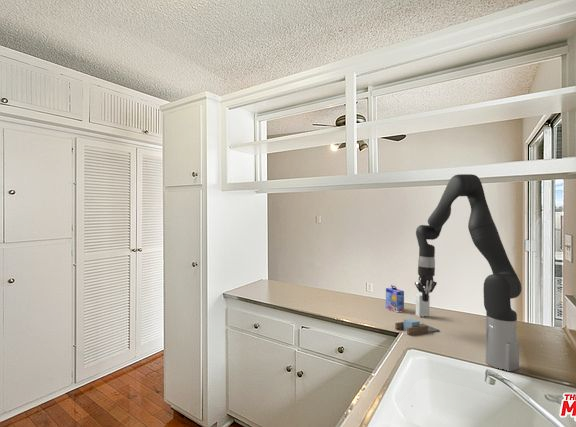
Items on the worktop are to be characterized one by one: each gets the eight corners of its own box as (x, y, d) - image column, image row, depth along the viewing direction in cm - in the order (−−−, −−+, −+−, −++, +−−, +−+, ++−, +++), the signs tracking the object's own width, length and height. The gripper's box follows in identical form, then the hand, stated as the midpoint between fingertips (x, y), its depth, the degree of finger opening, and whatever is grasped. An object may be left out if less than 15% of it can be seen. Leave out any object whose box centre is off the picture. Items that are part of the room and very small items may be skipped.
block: (419, 332, 146) (419, 321, 146) (411, 333, 144) (411, 322, 144) (411, 328, 150) (411, 318, 150) (403, 329, 148) (403, 319, 148)
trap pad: (439, 331, 148) (439, 330, 148) (430, 332, 145) (430, 331, 145) (422, 324, 157) (422, 323, 157) (413, 325, 154) (413, 324, 154)
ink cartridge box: (384, 308, 186) (385, 284, 187) (391, 307, 189) (392, 283, 189) (397, 312, 177) (397, 287, 178) (404, 311, 180) (404, 286, 180)
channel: (427, 332, 146) (427, 325, 146) (408, 335, 141) (408, 328, 141) (413, 326, 153) (413, 320, 153) (395, 329, 148) (395, 322, 148)
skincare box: (425, 315, 174) (425, 293, 175) (429, 317, 170) (430, 295, 170) (414, 315, 174) (415, 293, 174) (419, 317, 169) (419, 295, 170)
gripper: (422, 267, 145) (421, 304, 145) (442, 266, 151) (441, 302, 150) (410, 264, 152) (409, 300, 152) (429, 264, 158) (428, 298, 157)
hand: (425, 301), depth 151 cm, fingers closed
